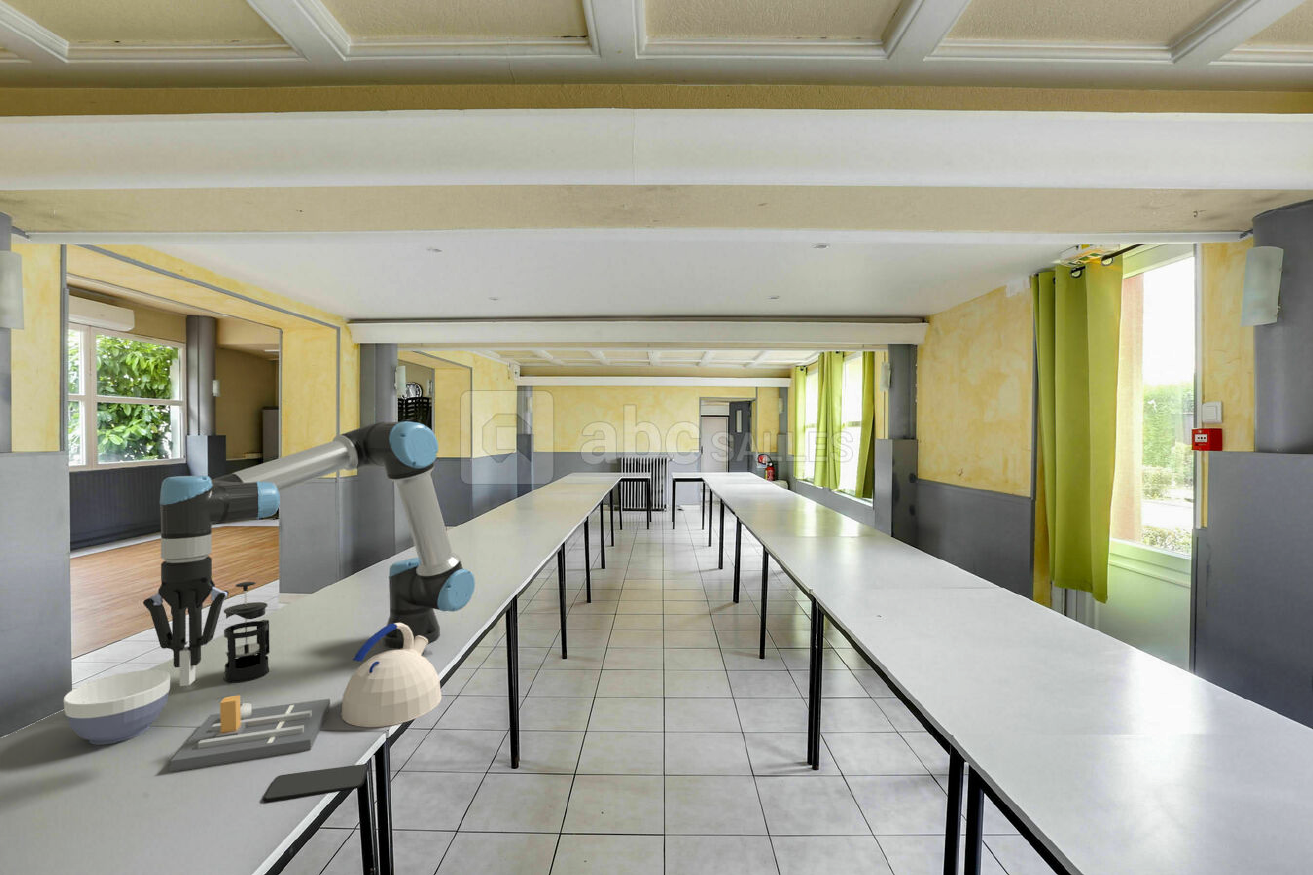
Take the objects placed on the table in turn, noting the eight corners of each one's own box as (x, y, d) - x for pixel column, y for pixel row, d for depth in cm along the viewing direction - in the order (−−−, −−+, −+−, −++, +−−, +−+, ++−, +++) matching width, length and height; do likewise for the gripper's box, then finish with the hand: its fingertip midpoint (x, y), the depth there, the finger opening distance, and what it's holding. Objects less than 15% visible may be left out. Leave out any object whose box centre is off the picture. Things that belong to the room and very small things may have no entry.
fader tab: (245, 727, 117) (245, 692, 117) (237, 738, 113) (237, 702, 113) (224, 730, 116) (223, 695, 116) (215, 741, 112) (214, 705, 112)
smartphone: (362, 785, 100) (260, 800, 96) (362, 791, 100) (260, 805, 96) (370, 762, 108) (276, 774, 103) (370, 767, 108) (276, 780, 103)
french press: (246, 684, 141) (245, 589, 141) (211, 683, 143) (209, 588, 142) (283, 665, 153) (281, 576, 153) (250, 663, 154) (248, 575, 154)
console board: (330, 707, 130) (329, 688, 130) (310, 749, 113) (310, 727, 112) (210, 724, 123) (210, 704, 123) (170, 771, 106) (170, 748, 105)
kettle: (461, 691, 137) (460, 614, 137) (395, 735, 118) (393, 645, 117) (391, 680, 144) (390, 606, 144) (318, 719, 124) (316, 634, 124)
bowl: (80, 763, 108) (78, 711, 108) (53, 739, 117) (52, 691, 117) (184, 726, 122) (183, 680, 122) (154, 707, 130) (153, 664, 130)
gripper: (234, 552, 117) (235, 670, 117) (154, 556, 113) (155, 679, 113) (220, 559, 110) (220, 685, 110) (134, 564, 106) (135, 695, 106)
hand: (187, 682), depth 112 cm, fingers closed
